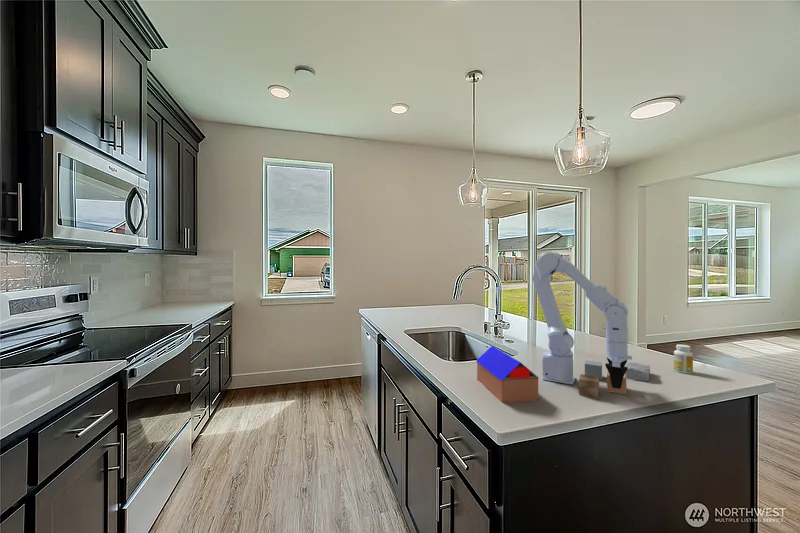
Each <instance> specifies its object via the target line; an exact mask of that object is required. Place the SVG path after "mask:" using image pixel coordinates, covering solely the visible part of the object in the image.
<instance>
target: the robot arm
mask: <svg viewBox="0 0 800 533" xmlns="http://www.w3.org/2000/svg"><path fill="white" fill-rule="evenodd" d="M555 273H560V274H565V275H567V276H568V278H570V279H571V280H572V281H574V282H575V283H576V284H577V285H578V286H580V287H581V288H582V289H583V291H585V297H586V298H587V299H588V300H589V301H590V302H591V303H592V304H594V306H595V307H597V309H599V311H601V312H604V317H605V319H606V325H605V354H604V355H605V356H604V357H606V360H607V362H608V363H607V362H606V363H605V368H606V370H607V372H609V375H610V379H611V384H612V387H613V388H618V389H620V388H621V386H622V381H623V377H624V374H625V372H626V371H627V369H628V367H624V366H625V364H626V363H628V360H633V356H632V355H628V352H629V351H628V349H629V348H628V346H629V344H628V342H629V341H628V333H629V332H628V326H627V325H628V321H627V320H628V319H627V318H628V315H629V309H628V308H627V306H626V305H625V303H623V302H622V301H620V299H619V298H618V297H615V296H614V295H612V294H611V293H610V291H608V288H607V286H605V285H601V284H598V283H596V284H595V283H593V282H592V281H591V280H590V279H588V277H586V276H585V275H584V274H583V273H582V271H580V269H579V268H577V267H576V266H575V265H574V264H573V263H572V262H571V261H570V260H568V259H567V258H565V257H563V256H562V254H560V253H558V252H551V251H546V252H543V253H541V254H540V255H539V257H538V258H537V260H536V261H535V267H534V271H533V276H532V282H533V285H534V289H535V292H536V294H537V298H538V300H539V304H540V306H541V309H542V313H543V315H544V319H545V323H546V325H547V337H548V348H549V351H544V352H543V354H542V378H541V379H542V380H544V381H550V382H555V383H561V384H566V385H574V383H575V381H576V379H577V377H576V376H575V375H574V353H573V351H572V350H571V349H572V348H573V346H574V343H575V340H574V338H573V336H572V335H571V334H570V333H569V330H568V329H567V327H566V326H565V324H564V322H563V319H562V316H561V315H562V314H560V310H559V307H558V304H557V300H556V298H555V295H554V292H553V288H552V286H551V283H550V281H551V278H552V277H553V275H554V274H555Z"/></svg>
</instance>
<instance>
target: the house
mask: <svg viewBox="0 0 800 533" xmlns="http://www.w3.org/2000/svg"><path fill="white" fill-rule="evenodd" d="M475 362H476V380H477V381H478V382H479V381H480V382H481V383H482V384H483V385H484V386H483V385H482V384H481V385H482V386H483V387H485V389H487V390H488V391H489V392H490V393H491V394H492V395H493V396H494V397H495V399H497V398H498V399H497V400H498V401H499V402H501V403H516V402H531V401H538V400H539V379H540V377H539V376H538V375H536V374H535V373H534V372H533V371H532V370H530V369H529V368H528V367H527V366H526V365H524V364H523V363H522V362H521V361H519V360H517V359H515V358H514V357H512V356H510V355H508V354H507V353H505V352H504V351H502V350H500V349H499V348H497V347H495V346H493V345H491V346H490V347H489V348H487V350H486V351H485V352H484V353H482V355H480V357H478V358H477V359H476V360H475ZM480 382H479V383H480Z"/></svg>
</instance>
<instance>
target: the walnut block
mask: <svg viewBox="0 0 800 533" xmlns="http://www.w3.org/2000/svg"><path fill="white" fill-rule="evenodd" d="M599 394H600V380H599V377H595V376H589V375H585V374H580V375H579V377H578V395H579V396H583V397H587V398H594V399H599Z"/></svg>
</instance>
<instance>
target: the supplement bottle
mask: <svg viewBox="0 0 800 533" xmlns="http://www.w3.org/2000/svg"><path fill="white" fill-rule="evenodd" d="M675 348H676V350H674V351H673V370H674V371H675V372H677V373H679V374H694V353H693V352H692V351H691V346H690V345H689V344H681V343H680V344H678V343H677V344H676V346H675Z"/></svg>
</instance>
